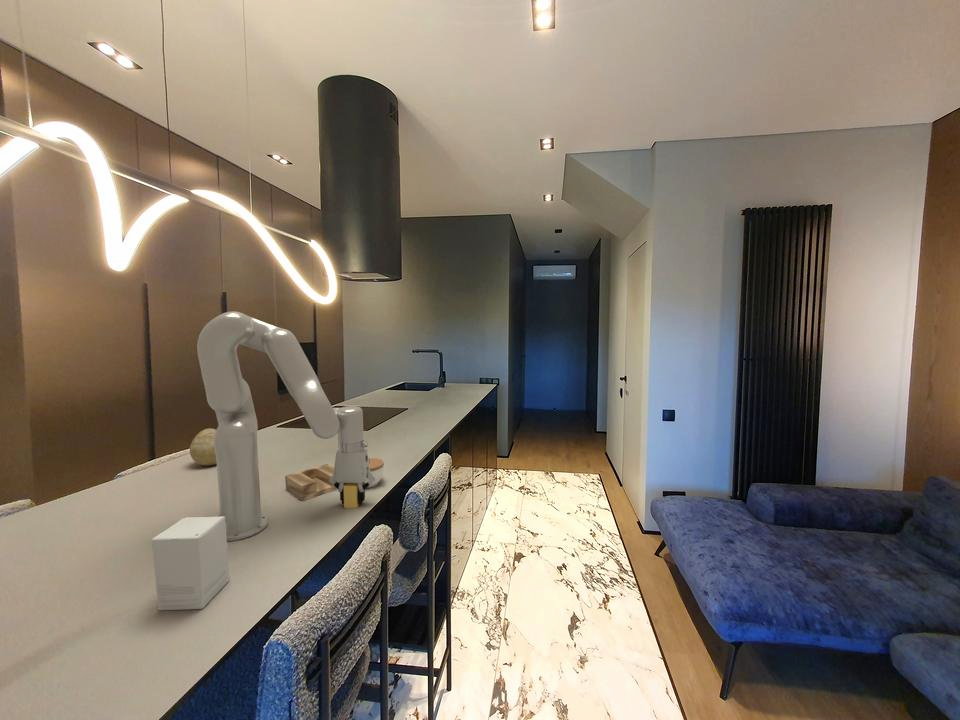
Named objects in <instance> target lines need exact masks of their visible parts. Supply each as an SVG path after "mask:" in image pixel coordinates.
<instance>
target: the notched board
mask: <svg viewBox="0 0 960 720" xmlns="http://www.w3.org/2000/svg"><path fill="white" fill-rule="evenodd" d="M333 474H334V466H333V465H331V464H328V463H325V464H323V465H319V466H314V467H312V468H308V469H305V470H301V471H298V472H294V473H291V474H290V473H289V474H287V475H284V479H285V491H286V492H289V494H291V495H292V496H294V497H295V498H297V499H298V500H300V501H301V502H305V501H307V500H310V499H312V498H317V497H318V496H321V495H324V494H327V493H330V492H333V491H337V490H338V489H337V488H336V487H335V486H334V485H333V484H332V483H330V482H329V479H330V478H331V476H332V475H333Z"/></svg>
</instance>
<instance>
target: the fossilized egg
mask: <svg viewBox="0 0 960 720" xmlns="http://www.w3.org/2000/svg"><path fill="white" fill-rule="evenodd" d="M216 430H217V429H215V428H205V429H203V430H200V431H199V432H198V433H197V434H196V435H195V436H194V438H193V439H192V440H191V443H190V446H189V454H190V457H191V459H192V460H193V462H195V463H196V464H198V465H201V466H206V467H207V466H209V467H210V466H214V465H217V462H216V454H215V447H214V437H215V432H216Z"/></svg>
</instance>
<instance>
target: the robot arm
mask: <svg viewBox="0 0 960 720" xmlns="http://www.w3.org/2000/svg"><path fill="white" fill-rule="evenodd" d="M239 345H242V346H244V347H248V348H251V349H253V350H257V351H259V352H263V353H265V354H267V355H268V357H269V359H270V361H271V363H272V365H273V367H274V368H275V370H276V372H277V373H278V375H279V376H280V378H281V381H282V382H283V383H284V385H285V387H286V389H287V391H288V393H289V394H290V396H291V397H292V398H293V400H294V401H295V403H296V405H297V406H298V408H299V410H300V411H301V413H302V415H303V417H304V418H305V420H306V422H307V424H308V425H309V427H310V429H311V430H312V433H313V434H314V435H315V436H316V437H317V438H319V439H322V440H323V439H324V440H327V439H332V438H333V437H335V436H336V435H337V444H338V445H337V447H338V449H337V450H336V452H335V456H334V457H335V458H334V466H333V467H334V474H333V475H332V476H331V478H330V479H329V482H330V483H332V484H333V485H334V486H335V487H336V488H337V490H338V493H339V501H341V505H344V485H345V484H346V483H357V484H358V487H359V492H358V504H359V506H360V505H362V503H363V502H364V501H365V499H366V489H368V488H367V487H368V486H369V485H371V484H372V483H373V482H374V481H375V478H374V477H373V475H372V474H371V473H370V466H369V454H368V449H367V448H368V447H369V442H365V439H364V414H363V413H364V411H363V409H362V407H360V406H358V405H348V406H342V407H333V406H332V404H331V402H330V400H329V399H328V397H327V395H326V393H325V391H324V389H323V388H322V385H321V382H320V381H319V378H318V376H317V374H316V372H315V371H314V368H313V367H312V365H311V363H310V361H309V359H308V357H307V355H306V354H305V351H304V350H303V348H302V346H301V345H300V343H299V341H298V339H297V338H296V336H295V334H294V333H293V332H292V331H291V330H288V329H287V328H286V329H285V328H281V327H278V326H276V325H274V324H270V323H268V322H265V321H263V320H259V319H257V318H255V317H252V316H249V315H247V314H245V313H243V312H240V311H226V312H223V313H221V314H219V315H218V316H217V315H216V317H214V318H213V319H211V320H210V321H209V322H207V324H205V326H204V327H203V328H202V330H201V332H200V333H199V336H198V338H197V344H196V346H197V347H196V349H197V350H196V351H197V356H198V362H199V367H200V371H201V377H202V382H203V384H204V386H203V387H204V389H205V390H204V391H205V395H206V401H207V403H208V406H209V407H210V408H211V409H212V410H213V411H214V412H215V416H216V420H217V424H218V426H217V428H216V429H215V430H216V432H215V437H214V447H215V454H216V462H217V463H216V473H217V485H218V487H217V489H218V501H219V515H218V516H216V517H223V516H225V523H226V539H227V542H231V541H239V540H242V539H246V538H249V537H252V536H254V535H256V534H259V532H262V531H263V530H264V529H265V528H266V527H267V526H268V523H269V521H268V520H269V519H268V517H267V516H266V515H264V514H262V503H261V502H262V501H261V488H260V485H261V484H260V467H259V453H258V452H259V451H258V431H259V430H258V427H259V425H258V418H257V415H256V411H255V406H254V402H253V398H252V393H251V389H250V386H249V384H248V382H247V380H245V379H244V378H243V375H242V372H241V367H240V362H239V358H238V353H237V351H238V350H237V349H238V346H239ZM366 478H368V479H369V481H367V482H366V483H365V481H366Z"/></svg>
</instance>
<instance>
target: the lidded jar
mask: <svg viewBox="0 0 960 720" xmlns="http://www.w3.org/2000/svg"><path fill="white" fill-rule="evenodd" d="M368 458H369V457H368ZM384 464H385V461H384V460H383V459H380V458H375V457H372V458H371V457H370V458H369V466H370V473H371V474H372V475H373V477H374V478H375V481H374V482H373V483H372V484H371V485H369V486H368V487H367V488H366V489H368V488H369V489H370V488H374V487H376V486H378V484H379V482H380V481H381V480H382V478H383V475H384ZM367 481H369V479H368V478H366V481H365V483H366V482H367Z"/></svg>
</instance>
